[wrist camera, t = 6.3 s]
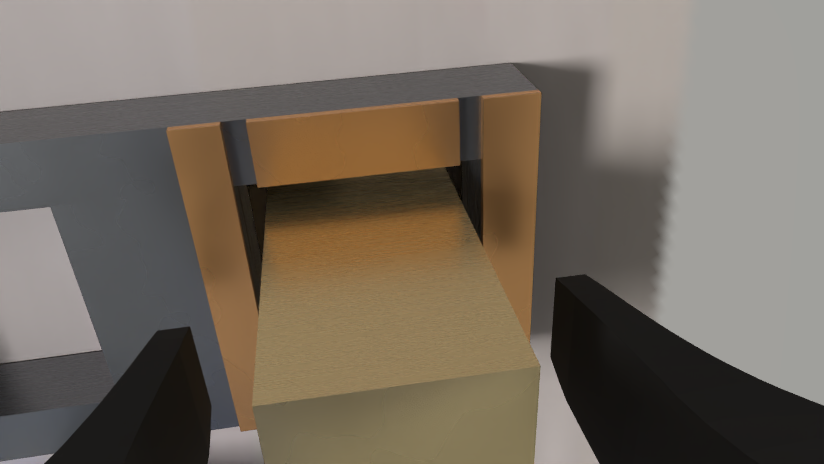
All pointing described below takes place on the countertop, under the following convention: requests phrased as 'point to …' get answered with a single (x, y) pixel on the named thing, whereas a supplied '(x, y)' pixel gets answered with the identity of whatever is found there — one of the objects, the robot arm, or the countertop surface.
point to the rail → (238, 212)
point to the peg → (387, 330)
